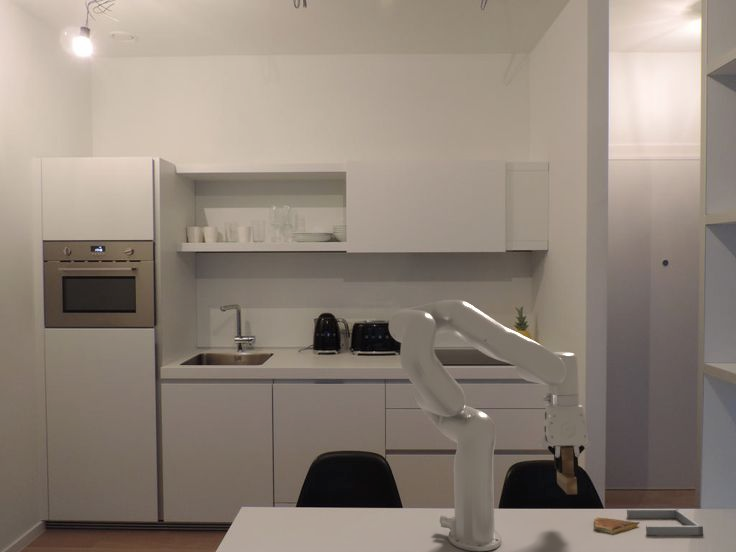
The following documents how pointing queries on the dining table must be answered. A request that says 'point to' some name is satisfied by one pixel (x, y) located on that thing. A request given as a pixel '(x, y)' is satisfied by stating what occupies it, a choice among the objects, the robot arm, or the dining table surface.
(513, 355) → the robot arm
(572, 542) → the dining table surface
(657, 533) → the frame
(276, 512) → the dining table surface
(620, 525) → the shard
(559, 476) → the wooden step block
